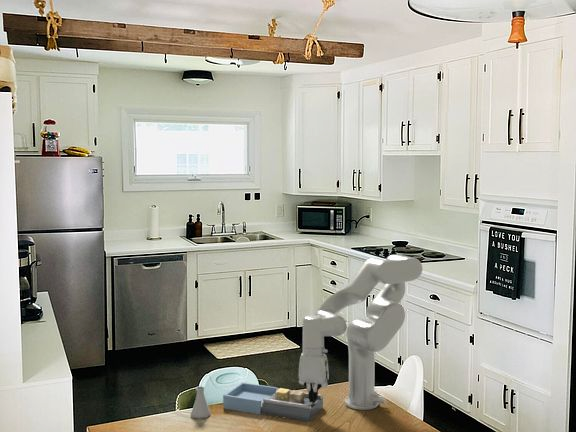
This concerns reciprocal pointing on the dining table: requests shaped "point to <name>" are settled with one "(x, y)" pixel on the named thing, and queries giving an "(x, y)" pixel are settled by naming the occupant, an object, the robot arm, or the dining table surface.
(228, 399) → the tray
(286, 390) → the olive yellow block
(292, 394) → the beige square block
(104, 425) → the dining table surface
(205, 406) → the flask
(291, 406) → the slot block
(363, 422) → the dining table surface
